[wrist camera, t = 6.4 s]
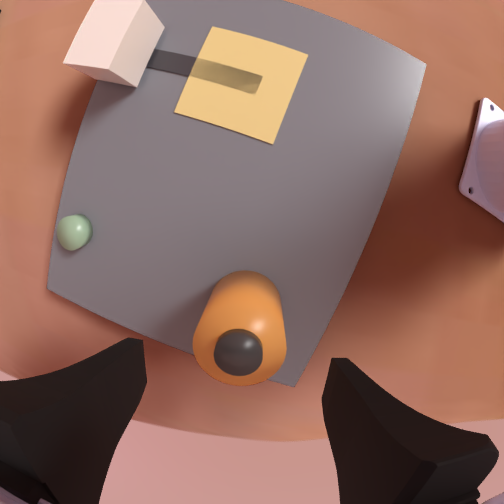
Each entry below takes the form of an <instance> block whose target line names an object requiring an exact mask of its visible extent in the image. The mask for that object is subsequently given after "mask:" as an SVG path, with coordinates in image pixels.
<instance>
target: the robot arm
mask: <svg viewBox="0 0 504 504" xmlns="http://www.w3.org/2000/svg"><path fill="white" fill-rule="evenodd" d="M490 107H491V109H490ZM469 188H470V189H471V192H470V193H469ZM459 191H460V192H461V193H462V194H463V195H465V196H466V197H468V198H469V199H471V200H472V201H474V202H475V203H477V204H478V205H479V206H481V207H482V208H484V209H485V210H487V211H488V212H489V213H491V214H492V215H494V216H495V217H496V218H498V219H499V220H501V221H502V222H503V223H504V112H503V111H502V110H501V109H500V108H499V107H497V106H496V105H495V104H494V103H493V102H492V101H490V100H489V99H488V98H482V99H481V101H480V105H479V110H478V115H477V120H476V124H475V129H474V133H473V137H472V141H471V145H470V149H469V152H468V156H467V160H466V163H465V167H464V170H463V173H462V177H461V180H460V183H459ZM146 383H147V377H146V368H145V358H144V347H143V340H140V339H134V338H127V339H124V340H122V341H120V342H118V343H116V344H114V345H112V346H111V347H109V348H107V349H105V350H103V351H101V352H99V353H97V354H95V355H93V356H91V357H89V358H87V359H85V360H83V361H80V362H78V363H76V364H74V365H71V366H69V367H66V368H64V369H61V370H58V371H55V372H52V373H48V374H44V375H40V376H35V377H31V378H26V379H19V380H12V381H0V504H99V500H100V496H101V492H102V488H103V485H104V481H105V478H106V475H107V471H108V468H109V466H110V462H111V460H112V457H113V454H114V451H115V449H116V447H117V444H118V442H119V440H120V438H121V436H122V434H123V433H124V431H125V429H126V427H127V425H128V423H129V422H130V420H131V418H132V416H133V414H134V412H135V410H136V408H137V407H138V405H139V403H140V400H141V398H142V395H143V392H144V389H145V386H146ZM322 407H323V416H324V422H325V426H326V430H327V434H328V438H329V441H330V445H331V449H332V452H333V457H334V460H335V465H336V469H337V476H338V485H339V493H340V494H339V495H340V504H478V502H477V500H476V499H478V498H479V497H480V493H479V491H478V489H477V488H478V486H479V485H480V484H481V483H482V481H483V480H484V479H485V478H486V477H487V475H488V474H489V473H490V472H491V470H492V469H493V467H494V466H495V464H496V462H497V460H498V457H499V451H498V450H497V448H496V447H495V445H494V444H493V442H492V441H491V439H490V438H489V436H488V435H486V434H481V433H476V432H471V431H466V430H462V429H459V428H456V427H453V426H449V425H447V424H444V423H441V422H439V421H436V420H434V419H432V418H430V417H427V416H425V415H423V414H421V413H419V412H417V411H415V410H414V409H412V408H410V407H409V406H407V405H405V404H404V403H402V402H401V401H399V400H398V399H396V398H395V397H393V396H392V395H391V394H389V393H388V392H386V391H385V390H384V389H383V388H381V387H380V386H379V385H378V384H376V383H375V382H374V381H373V380H372V379H371V378H369V377H368V376H367V375H366V374H365V373H364V372H363V371H362V370H360V369H359V368H358V367H357V366H356V365H355V364H354V363H353V362H351V361H350V360H349V359H348V358H332V359H331V363H330V367H329V372H328V376H327V380H326V384H325V388H324V392H323V395H322ZM482 504H504V492H503V493H502V494H499V495H497V496H495V497H493V498H491V499H489V500H487V501H485V502H484V503H482Z"/></svg>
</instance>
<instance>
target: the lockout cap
mask: <svg viewBox="0 0 504 504" xmlns="http://www.w3.org/2000/svg"><path fill="white" fill-rule="evenodd" d="M192 344H193V352H194V355H195V358H196V360H197V362H198V364H199V365H200V366H201V368H202V369H203V370H204V371H205V372H206V373H207V374H208V375H210V376H211V377H213V378H214V379H216V380H218V381H220V382H223V383H226V384H229V385H235V386H248V385H254V384H258V383H260V382H263V381H265V380H267V379H269V378H270V377H271V376H273V375H274V374H275V373H276V372H277V371H278V370H279V369H280V367H281V366H282V364H283V362H284V359H285V356H286V350H287V347H286V337H285V329H284V321H283V313H282V306H281V299H280V294H279V292H278V290H277V288H276V286H275V285H274V283H273V282H272V281H271V280H270V279H268V278H267V277H266V276H264V275H262V274H260V273H258V272H254V271H248V270H242V271H236V272H232V273H230V274H228V275H226V276H224V277H223V278H222V279H221V280H220V281H219V282H218V283H217V284H216V285H215V287H214V289H213V291H212V294H211V296H210V298H209V300H208V303H207V305H206V307H205V310H204V312H203V314H202V316H201V319H200V321H199V323H198V326H197V328H196V330H195V333H194V336H193V343H192Z"/></svg>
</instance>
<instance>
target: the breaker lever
mask: <svg viewBox="0 0 504 504" xmlns="http://www.w3.org/2000/svg"><path fill="white" fill-rule="evenodd" d="M164 28H165V27H164V26H163V24H162V23H161V21H160V20H159V19H158V17H157V16H156V14H155V13H154V12H153V10H152V9H151V8H150V6H149V5H148V4H147V2H146V1H145V0H95V1H94V2H93V4H92V6H91V8H90V9H89V11H88V13H87V15H86V17H85V19H84V20H83V22H82V24H81V26H80V28H79V30H78V32H77V34H76V36H75V38H74V40H73V42H72V44H71V46H70V49H69V51H68V53H67V55H66V57H65V60H64V62H63V63H64V64H66V65H68V66H70V67H72V68H74V69H76V70H78V71H80V72H82V73H84V74H86V75H88V76H90V77H92V78H94V79H96V80H102V81H107V82H113V83H118V84H123V85H128V86H132V87H137V86H138V84H139V82H140V79H141V77H142V75H143V72H144V70H145V68H146V66H147V63H148V61H149V59H150V57H151V55H152V53H153V50H154V48H155V46H156V44H157V42H158V40H159V38H160V36H161V34H162V32H163V30H164Z"/></svg>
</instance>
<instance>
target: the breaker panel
mask: <svg viewBox="0 0 504 504" xmlns="http://www.w3.org/2000/svg"><path fill="white" fill-rule="evenodd" d="M145 1H146V2H147V4H148V5H149V6H150V8H151V9H152V10H153V12H154V13H155V14H156V16H157V17H158V19H159V20H160V21H161V23H162V24H163V26H164V27H165V28H164V30H163V32H162V34H161V36H160V38H159V40H158V42H157V44H156V46H155V48H154V50H153V53H152V55H151V57H150V59H149V61H148V63H147V66H146V68H145V70H144V72H143V75H142V77H141V79H140V82H139V84H138V86H137V87H132V86H128V85H123V84H118V83H113V82H107V81H102V80H97V83H96V85H95V88H94V90H93V93H92V95H91V98H90V101H89V103H88V106H87V109H86V112H85V114H84V117H83V120H82V123H81V126H80V129H79V132H78V135H77V139H76V142H75V145H74V149H73V152H72V155H71V159H70V163H69V166H68V170H67V174H66V178H65V182H64V186H63V191H62V195H61V199H60V204H59V209H58V214H57V219H56V225H55V230H54V236H53V243H52V249H51V257H50V264H49V273H48V282H47V289H49V290H51V291H52V292H54V293H56V294H58V295H60V296H62V297H64V298H66V299H68V300H70V301H71V302H73V303H75V304H77V305H79V306H81V307H83V308H85V309H87V310H89V311H91V312H94V313H96V314H98V315H100V316H102V317H104V318H106V319H108V320H110V321H113V322H115V323H117V324H119V325H121V326H124V327H126V328H128V329H130V330H133V331H135V332H137V333H140V334H142V335H144V336H147V337H149V338H151V339H154V340H156V341H159V342H161V343H164V344H166V345H169V346H171V347H174V348H176V349H179V350H182V351H184V352H187V353H189V354H192V355H194V352H193V344H192V343H193V336H194V333H195V330H196V328H197V326H198V323H199V321H200V319H201V316H202V314H203V312H204V310H205V307H206V305H207V303H208V300H209V298H210V296H211V294H212V291H213V289H214V287H215V285H216V284H217V283H218V282H219V281H220V280H221V279H222V278H223V277H224V276H226V275H228V274H230V273H232V272H236V271H242V270H248V271H254V272H258V273H260V274H262V275H264V276H266V277H267V278H268V279H270V280H271V281H272V282H273V283H274V285H275V286H276V288H277V290H278V292H279V294H280V299H281V306H282V313H283V321H284V329H285V337H286V347H287V350H286V356H285V359H284V362H283V364H282V366H281V367H280V369H279V370H278V371H277V372H276V373H275V374H274V375H273V376H271V377H270V378H269V379H267V380H270V381H274V382H277V383H281V384H284V385H288V386H291V387H295V385H296V383H297V382H298V380H299V378H300V376H301V375H302V373H303V371H304V369H305V367H306V366H307V364H308V362H309V360H310V358H311V356H312V355H313V353H314V351H315V349H316V347H317V345H318V343H319V341H320V339H321V338H322V336H323V334H324V332H325V330H326V328H327V326H328V324H329V322H330V320H331V318H332V316H333V314H334V312H335V310H336V308H337V306H338V304H339V302H340V300H341V297H342V295H343V293H344V291H345V289H346V287H347V285H348V283H349V280H350V278H351V276H352V274H353V272H354V269H355V267H356V265H357V263H358V261H359V258H360V256H361V254H362V251H363V249H364V247H365V244H366V242H367V240H368V237H369V235H370V233H371V230H372V228H373V225H374V223H375V220H376V218H377V215H378V213H379V210H380V208H381V205H382V203H383V200H384V197H385V195H386V192H387V189H388V187H389V184H390V181H391V179H392V176H393V173H394V170H395V167H396V165H397V162H398V159H399V156H400V153H401V150H402V147H403V144H404V141H405V138H406V135H407V132H408V128H409V125H410V122H411V119H412V115H413V112H414V109H415V105H416V102H417V98H418V95H419V91H420V87H421V84H422V80H423V76H424V72H425V68H426V64H425V63H423V62H422V61H420V60H418V59H417V58H415V57H413V56H412V55H410V54H408V53H406V52H405V51H403V50H401V49H399V48H397V47H395V46H393V45H392V44H390V43H388V42H386V41H384V40H382V39H380V38H378V37H376V36H374V35H372V34H369V33H367V32H365V31H363V30H361V29H359V28H356V27H354V26H352V25H350V24H347V23H345V22H342V21H340V20H337V19H335V18H332V17H330V16H327V15H325V14H322V13H319V12H317V11H314V10H311V9H308V8H305V7H302V6H299V5H296V4H293V3H290V2H286V1H283V0H145Z"/></svg>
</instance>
